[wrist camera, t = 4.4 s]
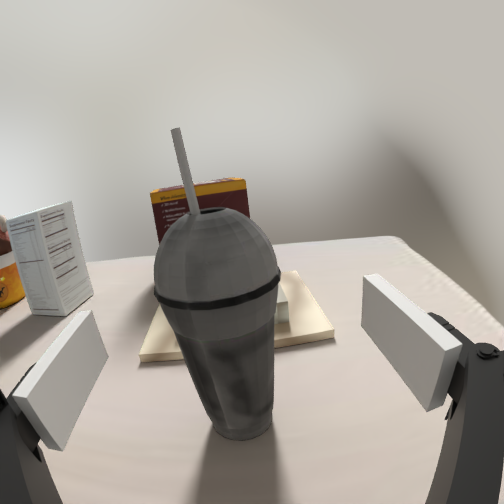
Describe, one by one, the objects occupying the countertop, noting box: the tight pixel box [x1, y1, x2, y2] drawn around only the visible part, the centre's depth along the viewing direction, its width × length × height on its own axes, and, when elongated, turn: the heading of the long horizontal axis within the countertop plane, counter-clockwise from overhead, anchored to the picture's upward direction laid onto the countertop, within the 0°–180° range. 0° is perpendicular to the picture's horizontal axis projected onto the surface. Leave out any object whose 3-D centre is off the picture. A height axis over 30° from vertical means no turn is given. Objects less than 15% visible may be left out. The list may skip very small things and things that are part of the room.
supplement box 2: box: [150, 178, 250, 245], centre depth 53 cm, size 10×15×16 cm
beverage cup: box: [154, 128, 281, 440], centre depth 18 cm, size 7×7×20 cm
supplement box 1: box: [6, 201, 94, 316], centre depth 42 cm, size 10×9×17 cm
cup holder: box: [139, 271, 334, 362], centre depth 37 cm, size 20×18×4 cm
